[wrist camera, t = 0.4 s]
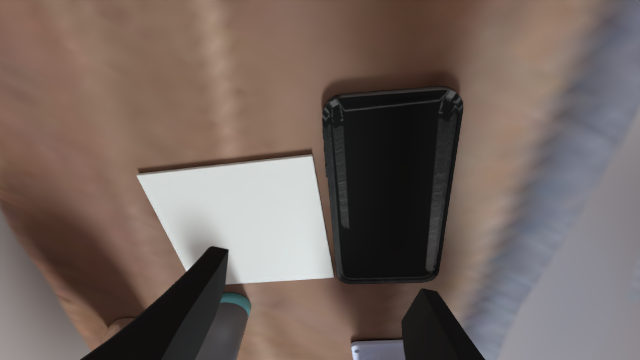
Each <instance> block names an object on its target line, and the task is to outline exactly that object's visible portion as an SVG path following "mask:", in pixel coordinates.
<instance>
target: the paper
mask: <svg viewBox="0 0 640 360" xmlns="http://www.w3.org/2000/svg"><path fill="white" fill-rule="evenodd" d="M137 177H138V179H139V181H140V183H141V185H142V187H143V189H144V191H145V193H146V195H147V197H148V199H149V200H150V202H151V204H152V206H153V208H154V210H155V212H156V214H157V216H158V218H159V220H160V222H161V223H162V225H163V227H164V229H165V231H166V233H167V235H168V237H169V239H170V241H171V243H172V245H173V247H174V248H175V250H176V252H177V254H178V256H179V258H180V260H181V262H182V264H183V266H184V268H185V270H186V271H188V270H189V269H190V268H191V267H192V265H193V264H194V263H195V262H196V261H197V260H198V259H199V258H200V257H201V256H202V255H203V253H204V252H205V251H206V250H207V249H208V248H209V247H211V246H215V247H220V248H225V249H229V253H228V263H227V273H226V283H225V284H240V283H256V282H271V281H287V280H303V279H319V278H334V273H333V267H332V262H331V256H330V250H329V245H328V239H327V233H326V228H325V222H324V216H323V211H322V205H321V199H320V194H319V188H318V182H317V177H316V171H315V166H314V160H313V154H309V155H300V156H291V157H282V158H273V159H264V160H255V161H246V162H237V163H228V164H219V165H210V166H202V167H193V168H184V169H175V170H166V171H157V172H148V173H139V174H138V175H137Z"/></svg>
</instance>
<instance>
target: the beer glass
mask: <svg viewBox="0 0 640 360" xmlns="http://www.w3.org/2000/svg"><path fill="white" fill-rule="evenodd" d="M134 319H135V318H121V319H118V320H116V321H114V322H113V323H112V324H111V325H110V326H109V328H108V330H107V332H106V334H105V336H104V338H103V340H102V342H101V344H103V343H104V342H106V341H107V340H108V339H110V338H111V337H112V336H114V335H115V334H116V333H117V332H119V331H120V330H121V329H123V328H124V327H125V326H126V325H128V324H129V323H130V322H131V321H133V320H134Z"/></svg>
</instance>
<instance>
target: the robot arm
mask: <svg viewBox="0 0 640 360" xmlns="http://www.w3.org/2000/svg"><path fill="white" fill-rule="evenodd" d="M228 253H229V249H225V248H220V247H215V246H211V247H209V248H208V249H207V250H206V251H205V252H204V253H203V255H202V256H201V257H200V258H199V259H198V260H197V261H196V262H195V263H194V264H193V265H192V267H191V268H190V269H189V270H188V271H187V272H186V273H185V274H184V275H183V276H182V277H181V278H180V279H179V280H178V281H176V282H175V283H174V284H173V285H172V286H171V287H170V288H169V289H168V290H167V291H166V292H165V293H164V294H163V295H162V296H161V297H159V298H158V299H157V300H156V301H155V302H154V303H153V304H151V305H150V306H149V307H148V308H147V309H146V310H145V311H143V312H142V313H141V314H140V315H139V316H137V317H136V318H135V319H134V320H133V321H131V322H130V323H129V324H128V325H126V326H125V327H124V328H123V329H121V330H120V331H119V332H117V333H116V334H115V335H114V336H112V337H111V338H110V339H108V340H107V341H106V342H104V343H103V344H101V345H100V346H99V347H97V348H96V349H95V350H93V351H92V352H90V353H89V354H88V355H86V356H85V357H83V358H82V359H81V360H195V359H196V357H197V355H198V353H199V351H200V348H201V346H202V344H203V342H204V340H205V337H206V335H207V333H208V331H209V329H210V326H211V324H212V322H213V320H214V318H215V315H216V313H217V310H218V307H219V304H220V301H221V298H222V295H223V292H224V289H225V283H226V273H227V263H228ZM402 336H403V340H383V341H357V342H353V343H352V344H351V350H352V356H353V360H485V359H484V358H483V356H482V355H481V353H480V352H479V351H478V349H477V348H476V347H475V345H474V344H473V342H472V341H471V340H470V338H469V337H468V335H467V334H466V333H465V331H464V330H463V328H462V327H461V325H460V324H459V322H458V321H457V320H456V318H455V317H454V315H453V314H452V312H451V311H450V309H449V308H448V306H447V305H446V304H445V302H444V301H443V299H442V298H441V296H440V295H439V294H438V292H437V291H432V290H427V289H422V288H421V290H420V291H419V293H418V295H417V296H416V298H415V300H414V301H413V303H412V305H411V306H410V308H409V310H408V312H407V313H406V315H405V317H404V318H403V320H402Z"/></svg>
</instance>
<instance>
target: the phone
mask: <svg viewBox="0 0 640 360" xmlns="http://www.w3.org/2000/svg"><path fill="white" fill-rule="evenodd" d="M462 114H463V101H462V99H461V97H460V96H459V95H458V94H457V93H456V92H455V91H454V90H452V89H450V88H448V87H445V86H435V87H422V88H410V89H397V90H385V91H372V92H359V93H347V94H339V95H335V96H334V97H332V98H330V99H329V100H328V101H327V103H326V104H325V107H324V109H323V118H322V121H323V139H324V142H325V147H324V153H325V161H326V164H325V167H326V177H328V185H329V196H330V207H331V218H332V229H333V240H334V250H335V261H336V272H337V277H338V278H339V280H340V281H342V282H344V283H347V284H382V283H423V282H428V281H431V280H433V279H434V278H435V277H436V276H437V275H438V273H439V267H440V261H441V254H442V247H443V241H444V234H445V227H446V221H447V214H448V207H449V201H450V194H451V187H452V181H453V174H454V167H455V161H456V154H457V147H458V141H459V134H460V127H461V121H462Z"/></svg>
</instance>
